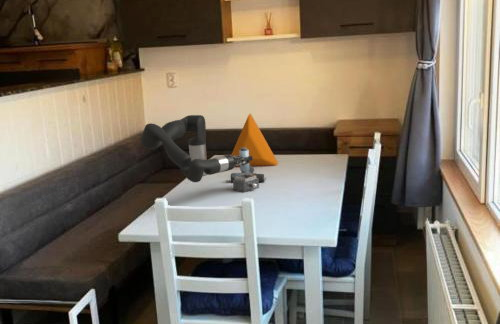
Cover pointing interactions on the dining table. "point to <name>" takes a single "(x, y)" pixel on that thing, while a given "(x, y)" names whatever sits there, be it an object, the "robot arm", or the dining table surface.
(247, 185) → the grey metal open box
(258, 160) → the decorative object
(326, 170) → the dining table surface
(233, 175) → the power drill
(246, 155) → the capped canister
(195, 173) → the robot arm
